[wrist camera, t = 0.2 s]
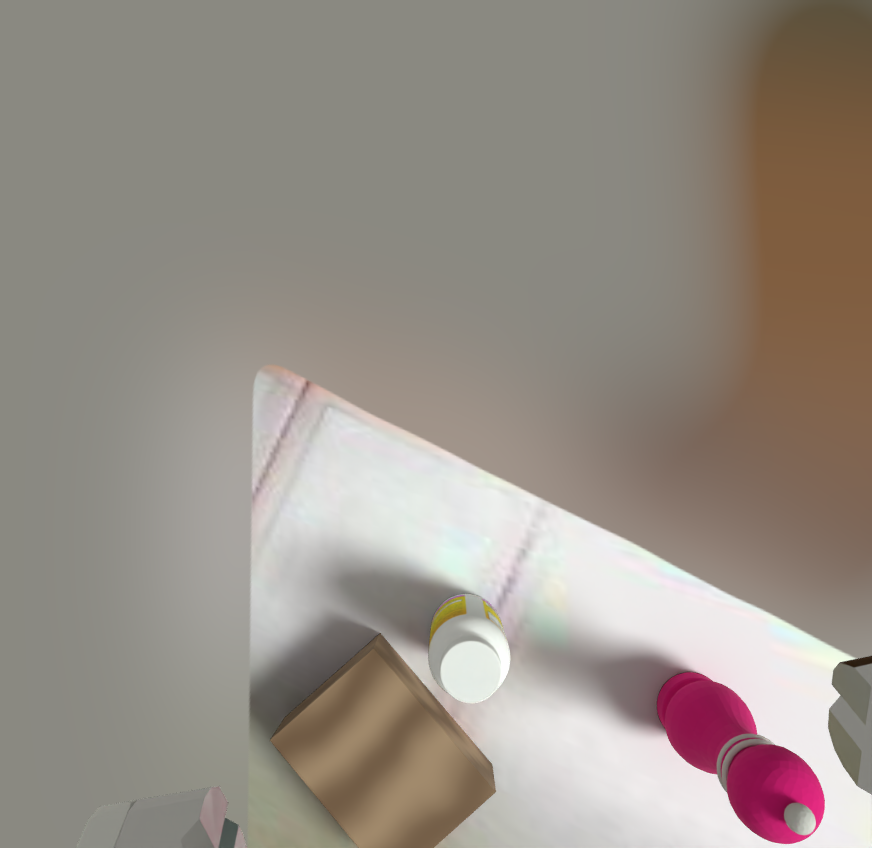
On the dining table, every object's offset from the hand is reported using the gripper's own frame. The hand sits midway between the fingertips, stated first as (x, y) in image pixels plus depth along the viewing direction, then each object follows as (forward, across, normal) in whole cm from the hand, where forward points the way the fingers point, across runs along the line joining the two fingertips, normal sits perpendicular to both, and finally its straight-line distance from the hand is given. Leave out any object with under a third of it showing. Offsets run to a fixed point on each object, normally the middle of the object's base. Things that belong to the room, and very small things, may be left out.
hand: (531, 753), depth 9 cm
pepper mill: (+37, +18, -45) cm, 61 cm away
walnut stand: (+38, -11, -43) cm, 58 cm away
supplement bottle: (+42, -1, -36) cm, 55 cm away
